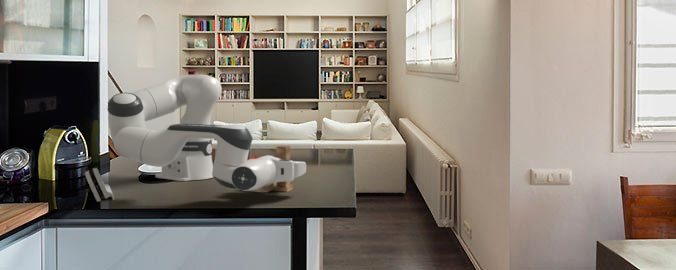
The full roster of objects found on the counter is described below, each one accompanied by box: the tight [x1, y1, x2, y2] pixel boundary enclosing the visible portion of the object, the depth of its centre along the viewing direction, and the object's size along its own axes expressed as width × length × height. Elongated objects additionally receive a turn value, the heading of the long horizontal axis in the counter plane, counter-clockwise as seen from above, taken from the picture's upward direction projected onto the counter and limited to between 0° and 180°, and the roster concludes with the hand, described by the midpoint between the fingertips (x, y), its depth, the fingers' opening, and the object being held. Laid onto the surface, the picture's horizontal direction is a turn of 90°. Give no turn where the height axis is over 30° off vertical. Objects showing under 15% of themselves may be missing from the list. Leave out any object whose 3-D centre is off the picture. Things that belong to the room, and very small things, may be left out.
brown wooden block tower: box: [273, 144, 294, 193], centre depth 173 cm, size 7×5×15 cm
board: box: [250, 183, 276, 193], centre depth 181 cm, size 10×22×2 cm, turn 163°
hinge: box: [84, 167, 115, 202], centre depth 162 cm, size 17×5×10 cm, turn 28°
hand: (284, 163), depth 174 cm, fingers open, 6 cm apart
